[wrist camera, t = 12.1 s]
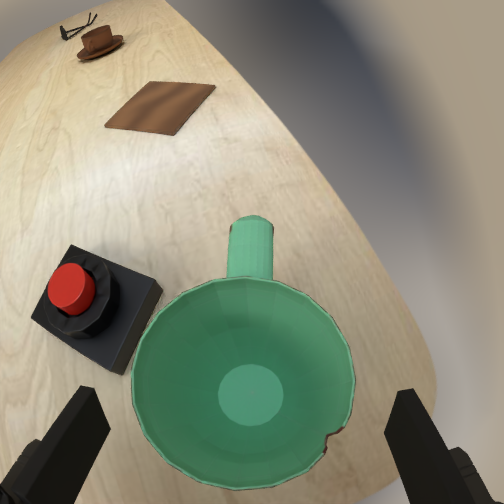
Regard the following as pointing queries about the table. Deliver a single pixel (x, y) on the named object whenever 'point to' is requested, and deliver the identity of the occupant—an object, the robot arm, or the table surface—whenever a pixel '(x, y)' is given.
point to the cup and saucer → (98, 42)
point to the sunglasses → (74, 29)
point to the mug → (243, 374)
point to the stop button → (71, 289)
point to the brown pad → (160, 107)
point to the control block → (103, 311)
